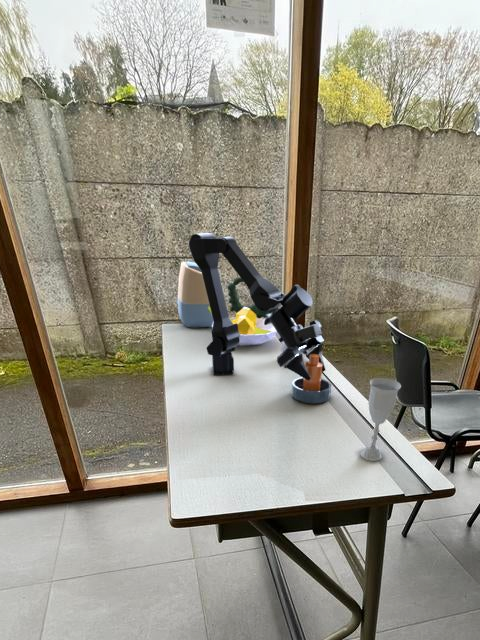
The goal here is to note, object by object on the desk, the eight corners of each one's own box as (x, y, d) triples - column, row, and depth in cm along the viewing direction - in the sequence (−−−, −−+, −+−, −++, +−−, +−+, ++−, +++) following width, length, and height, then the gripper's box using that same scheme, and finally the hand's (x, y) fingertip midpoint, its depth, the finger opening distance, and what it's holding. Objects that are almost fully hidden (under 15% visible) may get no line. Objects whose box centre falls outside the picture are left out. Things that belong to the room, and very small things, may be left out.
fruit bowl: (290, 340, 179) (292, 310, 172) (251, 355, 160) (251, 323, 153) (236, 326, 190) (236, 298, 183) (194, 340, 171) (192, 309, 164)
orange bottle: (309, 399, 130) (312, 359, 122) (299, 393, 133) (301, 354, 126) (322, 396, 132) (327, 356, 125) (312, 390, 135) (316, 351, 128)
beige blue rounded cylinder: (221, 328, 187) (219, 267, 173) (181, 329, 183) (176, 266, 168) (215, 318, 199) (212, 260, 185) (178, 318, 195) (172, 259, 181)
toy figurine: (231, 326, 196) (286, 323, 197) (226, 280, 184) (284, 276, 185) (231, 321, 203) (284, 318, 204) (226, 275, 191) (283, 272, 193)
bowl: (296, 405, 127) (297, 392, 125) (287, 389, 136) (288, 377, 134) (334, 403, 129) (336, 391, 127) (323, 388, 139) (325, 376, 136)
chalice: (354, 448, 108) (366, 377, 98) (380, 448, 109) (395, 378, 98) (360, 463, 103) (374, 390, 92) (388, 463, 103) (405, 390, 92)
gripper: (288, 317, 113) (321, 368, 116) (321, 305, 126) (350, 351, 129) (262, 342, 121) (294, 390, 124) (296, 328, 134) (324, 372, 137)
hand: (317, 375), depth 128 cm, fingers open, 9 cm apart
